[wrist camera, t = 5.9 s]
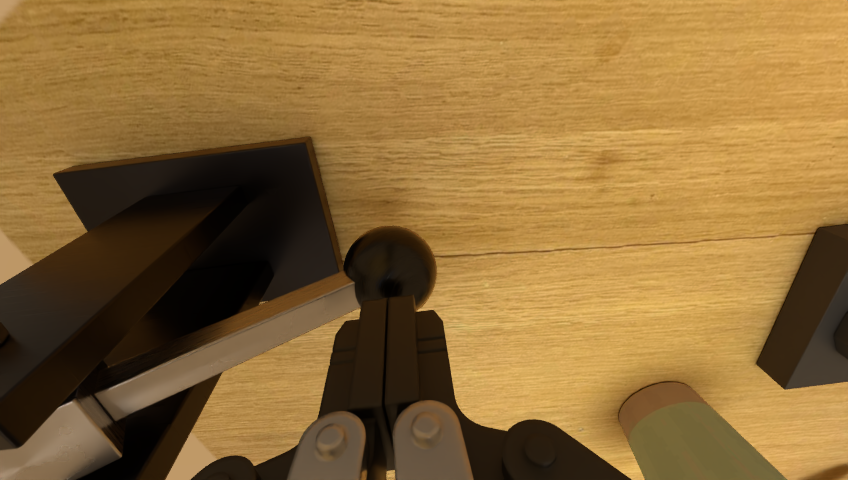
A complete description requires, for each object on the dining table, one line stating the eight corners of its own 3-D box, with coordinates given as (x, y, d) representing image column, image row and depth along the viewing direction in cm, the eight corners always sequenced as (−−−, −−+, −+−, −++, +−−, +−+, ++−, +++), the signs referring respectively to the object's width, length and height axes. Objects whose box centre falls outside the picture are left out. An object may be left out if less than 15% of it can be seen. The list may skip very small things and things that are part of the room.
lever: (400, 202, 15) (452, 230, 12) (411, 273, 16) (458, 311, 14) (-63, 363, 9) (-155, 483, 6) (25, 448, 10) (-20, 570, 8)
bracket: (311, 136, 17) (133, 323, 6) (347, 279, 21) (285, 562, 9) (72, 165, 17) (-593, 415, 6) (153, 303, 21) (-143, 618, 9)
